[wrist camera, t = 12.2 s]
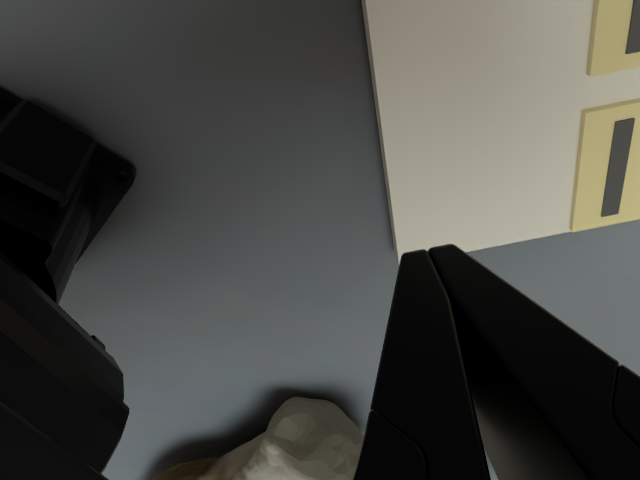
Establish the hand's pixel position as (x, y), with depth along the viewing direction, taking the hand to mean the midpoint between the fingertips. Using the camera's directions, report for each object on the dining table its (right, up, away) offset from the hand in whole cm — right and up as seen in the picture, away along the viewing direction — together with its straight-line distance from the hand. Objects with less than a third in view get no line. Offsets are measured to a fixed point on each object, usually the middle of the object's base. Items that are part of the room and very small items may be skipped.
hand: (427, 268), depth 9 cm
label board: (+8, +7, +12) cm, 16 cm away
